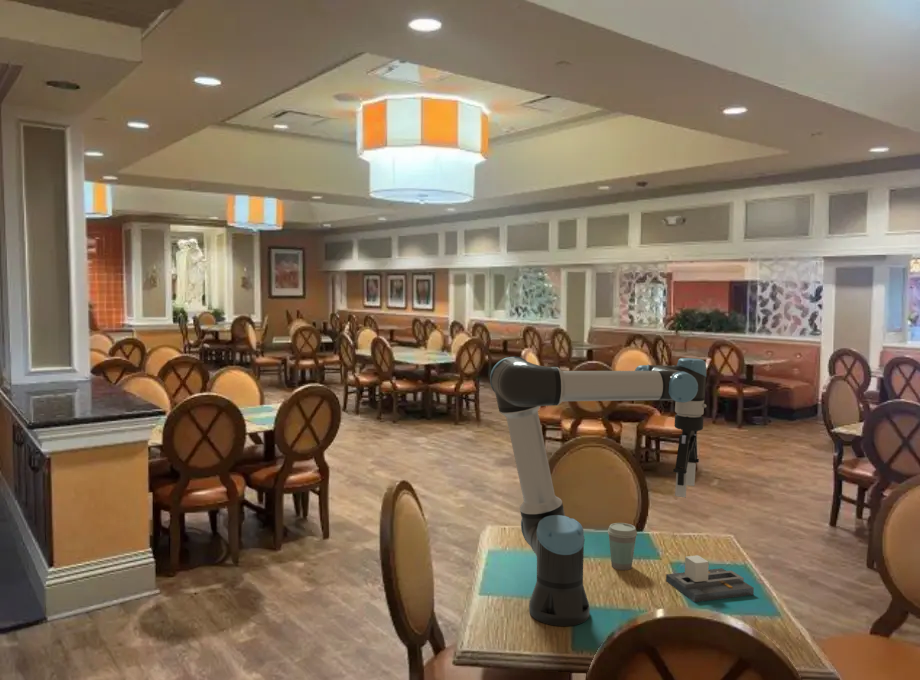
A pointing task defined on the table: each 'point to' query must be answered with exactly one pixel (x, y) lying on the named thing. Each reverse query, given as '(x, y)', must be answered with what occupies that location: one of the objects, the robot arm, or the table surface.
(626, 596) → the table surface
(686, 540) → the table surface
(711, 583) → the console
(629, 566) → the coffee cup
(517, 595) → the table surface
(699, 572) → the fader tab
